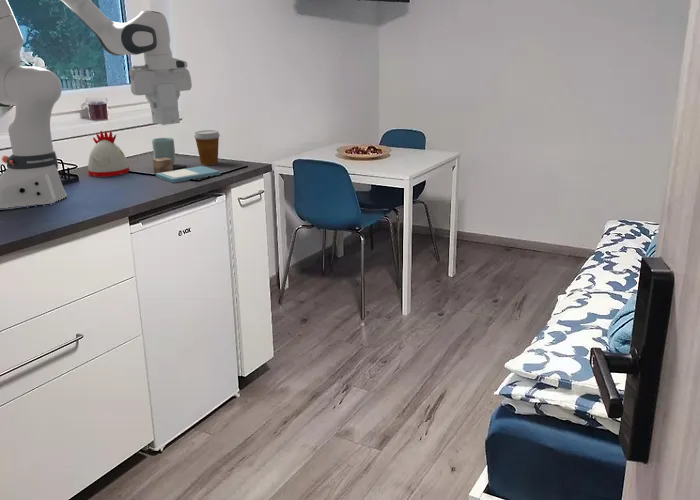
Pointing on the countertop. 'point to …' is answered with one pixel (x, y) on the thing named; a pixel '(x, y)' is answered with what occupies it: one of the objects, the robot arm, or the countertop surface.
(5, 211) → the countertop surface
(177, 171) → the light blue book
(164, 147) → the cup
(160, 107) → the small box
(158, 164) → the walnut block
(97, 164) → the kitchen timer
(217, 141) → the disposable coffee cup
